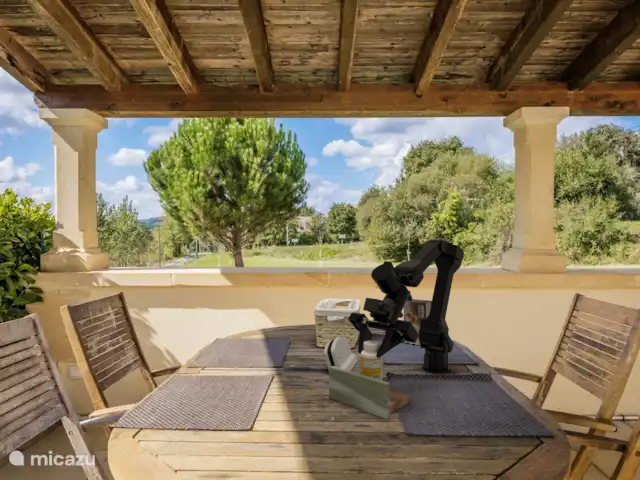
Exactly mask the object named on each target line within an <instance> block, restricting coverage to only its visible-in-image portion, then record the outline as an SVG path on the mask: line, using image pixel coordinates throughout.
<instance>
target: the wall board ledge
mask: <svg viewBox="0 0 640 480" xmlns="http://www.w3.org/2000/svg"><path fill="white" fill-rule="evenodd" d="M328 395H329V396H328V397H329V399H332V400H335V401H336V402H340V403H342V404H345V405H348V406H350V407H353V408H356V409H359V410H361V411H364V412H366V413H369V414H371V415H375V416H377V417H379V418H382V419H385V420H387V419H388V418H390V417H391V414H392V413H394V412H396V411H398V410H400V409H401V408H403V407H405V406H406V405H405V404H407V405H409V404H410V403H411V394H409V393H405V392H402V391H399V390H397V389H396V390H395V389H392V388H391V383H390V382H387V381H385V380H383V379H382V380H378V379H375V378H372V377H368V376H365V375H362V374H361V373H358V372H355V371H351V370H350V371H348V370H345V369H342V368H338V367H335V366H331V367H329V370H328ZM409 402H410V403H409ZM408 403H409V404H408ZM404 405H405V406H404ZM402 406H403V407H402ZM399 408H400V409H399Z"/></svg>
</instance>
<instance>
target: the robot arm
mask: <svg viewBox="0 0 640 480" xmlns="http://www.w3.org/2000/svg"><path fill="white" fill-rule="evenodd" d="M464 258H465V252H464V249H463V248H462V247H461V246H460V245H457V244H453V243H451V242H448V241H447V240H444V239H435V238H434V239H429V240H428V241H427V242H426V244H425V245H424V246H423V247H422V248H421V249H420V250H419V251H418V252H417V253H416V254H415V255H414V256H413V257H412V258H411V259H409V260H407V261H402V262H401V263H398V264H397V265H396V266H395V267H394V264H393V263H392V261H391V260H390V261H387V260H385V261H384V260H383V261H384V262H383V263H382V264H379V265H378V266H376V267H375V268H373V269H372V270H371V274H370V276H371V278H372V279H373V281H374V283H375V284H376V286H377V287H378V288H379V290H380V291H381V293H383V294H385V296H384V297H383V299H378V298H372V297H366V298H365V300H364V305H363V308H362V309H363V311H365V312H368V313H369V316H370V317H371V318H372V319H370V318H368V317H367V316H366V314H365V313H362V312H360V313H357V312H353V313H351V315H350V316H349V318H348V320H349V321H350V323H351V324H352V325H353V326H354V328H355V329H356V330H357V331H359V337H358V349H357V352H358V353H359V355H361V352H362V351H363V350H364V342H365V341H372V339H373V338H374V336H375V335H374V334H373V333H372V329H375V330H381V331H384V336H383V339H382V342H381V343H380V347H379V349H378V352H377V355H376V356H377V358H380V357H381V356H382V357H383V356H384V355H385V354H387V353H388V352H389V351H391V350H392V349H393V348H396V347H397V346H398V345H400V344H405V343H404V339H405V341H408V342H412V343H415V342H416V340H417V338H419V342H420V346H419V347H420V349H424V354H423V365H421V367H422V368H423V369H425V370H426V371H429V372H430V373H432V374H438V373H444V372H451V371H452V368H450V367H449V353H451V354H452V352H453V349H454V342H453V340H452V339H451V337H450V335H449V325H448V323H447V321H446V317H447V311H448V305H449V300H450V295H451V290H452V284H453V279H454V275H455V273H456V272H457V271H458V270H459V269H460V268H461V266H462V262H463V260H464ZM433 262H434V264H435V266H436V270H437V273H436V276H435V277H436V278H435V283H434V289H433V293H432V299H431V301H432V302H431V308H430V313H429V316H428V317H427V318H426V319H422V320H421V324H420V329H419V333H418V332H417V331H416V329H415V328H414V326H413V325H412V323H411V322H409V321H404V319H399V318H404V313H403V311H404V306H405V303H406V301H412V299H413V295H412V293H411V292H412V291H411V290H409V289H408V287H409V288H417V287H419V285H421V283H422V281H423V279H424V277H425V276H424V273H425V271H426V270H427V269H428V268H429V266H431V265H432V264H433Z"/></svg>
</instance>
